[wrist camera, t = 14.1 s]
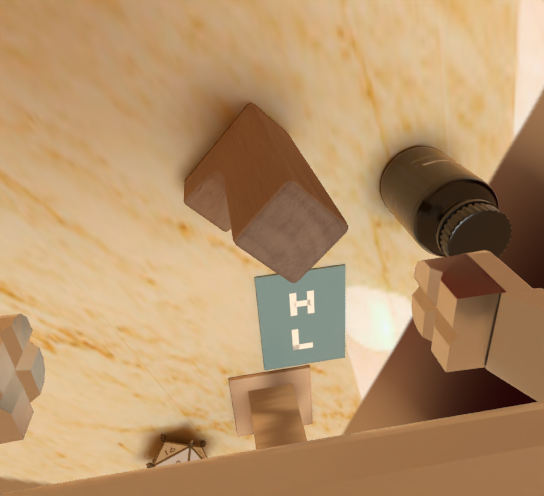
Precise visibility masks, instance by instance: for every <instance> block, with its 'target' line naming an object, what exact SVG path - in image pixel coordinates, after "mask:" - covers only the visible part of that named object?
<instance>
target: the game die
mask: <svg viewBox="0 0 544 496" xmlns="http://www.w3.org/2000/svg"><path fill="white" fill-rule="evenodd" d="M160 439H161V441H163V444H162V446H161V447H160V449H159V451H158V453H157V454H156V456H155V458H154V460H153V461H152V463H150V462H149V463H148V464H146V465H147V468H152V467H158V466H164V465H170V464H176V463H182V462H187V461H193V460H199V459H205V458H207V456H206V454H205V452H204V450H203V448H202V447H204V446H205V441H204V442H203V441H202V443H201V444H200V446H197V445H193V444H194V441H193V439H192V440H191V441H189V444H183V443H176V442H169V441H166V438H165V436H164V435H161V438H160Z"/></svg>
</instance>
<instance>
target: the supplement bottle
mask: <svg viewBox="0 0 544 496" xmlns="http://www.w3.org/2000/svg"><path fill="white" fill-rule="evenodd" d="M381 195H382V199H383V201H384V203H385V205H386V206H387V207H388V209H389V210H390V211H391V212H392V214H393V215H394V216H395V217H396V218H397V220H398V221H399V222H400V223H401V224H402V225H403V227H404V228H405V229H406V230H407V231H408V233H409V234H410V235H411V236H412V237H413V239H414V240H415V241H416V242H417V243H418V244H419V245H420V246H421V247H422V248H423V249H424V250H425V251H427V252H428V253H430V254H433V255H436V256H440V257H448V256H454V255H460V254H465V253H471V252H477V251H482V250H486V251H489V252H491V253H493V254H494V255H495V256H496V257H497V258H498V257H499V256H500V255H501V254H502V253H503V252H504V250H505V249H506V248H507V245H508V244H509V242H510V238H511V232H512V230H511V224H510V223H509V220H508V218H507V217H506V215H505V214H503V213H502V212H501V211H499V205H498V200H497V197H496V194H495V192H494V191H493V189H492V188H491V187H490V186H489V185H488V184H487V183H486V182H484V181H483V180H482V179H480V178H479V177H477V176H476V175H474V174H473V173H472V172H470V171H469V170H467V169H466V168H464V167H463V166H461V165H460V164H458V163H457V162H456V161H454V160H453V159H451V158H450V157H448V156H447V155H445V154H444V153H442V152H441V151H439V150H437V149H434V148H431V147H414V148H411V149H408V150H406V151H404V152H402V153H400V154H399V155H398V156H396V157H395V158H394V159H393V160H392V161H391V162H390V163H389V165H388V166H387V168H386V169H385V171H384V174H383V176H382V180H381Z"/></svg>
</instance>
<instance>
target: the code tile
mask: <svg viewBox="0 0 544 496" xmlns="http://www.w3.org/2000/svg"><path fill="white" fill-rule="evenodd" d="M255 285H256V294H257V303H258V313H259V322H260V331H261V341H262V350H263V359H264V369H265V370H270V369H276V368H282V367H288V366H295V365H301V364H307V363H313V362H320V361H326V360H332V359H338V358H345V264H344V265H337V266H330V267H323V268H316V269H310V270H309V271H308V272H307V273H306V274H305V275H304V276H303V277H302V278H301V279H300V280H299V281H298V282H296V283H291V282H289V281H288V280H286V279H285V278H283V277H282V276H280V275H279V274H273V275H266V276H259V277H255Z"/></svg>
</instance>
